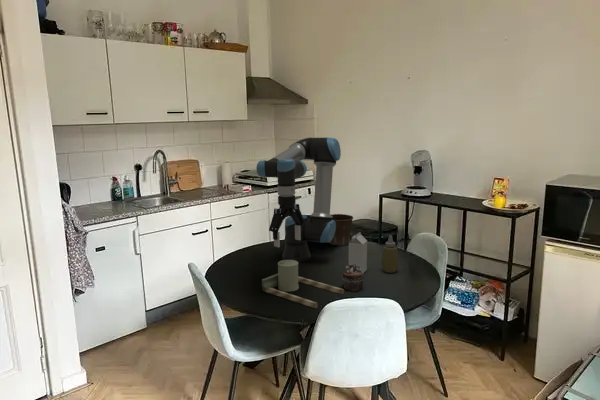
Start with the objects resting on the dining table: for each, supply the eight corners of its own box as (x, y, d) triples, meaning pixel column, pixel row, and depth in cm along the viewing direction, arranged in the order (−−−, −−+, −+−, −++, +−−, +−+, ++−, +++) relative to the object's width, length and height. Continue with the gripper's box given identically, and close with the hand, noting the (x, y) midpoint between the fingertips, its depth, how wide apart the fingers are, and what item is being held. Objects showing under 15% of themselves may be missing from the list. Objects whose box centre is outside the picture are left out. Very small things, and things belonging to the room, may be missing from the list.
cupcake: (337, 286, 201) (337, 264, 199) (355, 282, 206) (355, 261, 204) (350, 293, 193) (350, 271, 191) (368, 288, 198) (368, 267, 196)
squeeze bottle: (398, 274, 215) (399, 237, 212) (381, 273, 217) (381, 237, 213) (398, 268, 223) (399, 233, 220) (381, 267, 225) (382, 232, 221)
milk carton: (366, 270, 222) (367, 232, 218) (362, 274, 215) (363, 236, 212) (353, 268, 225) (353, 231, 221) (348, 272, 218) (348, 234, 215)
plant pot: (358, 244, 266) (358, 217, 263) (336, 248, 258) (336, 221, 255) (342, 238, 280) (342, 212, 277) (320, 242, 272) (320, 216, 269)
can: (277, 284, 204) (277, 259, 202) (297, 283, 205) (297, 258, 203) (278, 292, 195) (277, 265, 193) (299, 291, 196) (299, 264, 194)
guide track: (262, 290, 197) (261, 279, 197) (291, 278, 212) (291, 268, 211) (315, 308, 178) (315, 296, 177) (343, 293, 193) (343, 282, 192)
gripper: (272, 200, 181) (274, 251, 185) (311, 192, 200) (312, 238, 204) (259, 198, 186) (261, 248, 190) (298, 190, 204) (299, 235, 208)
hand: (287, 243), depth 197 cm, fingers open, 13 cm apart
